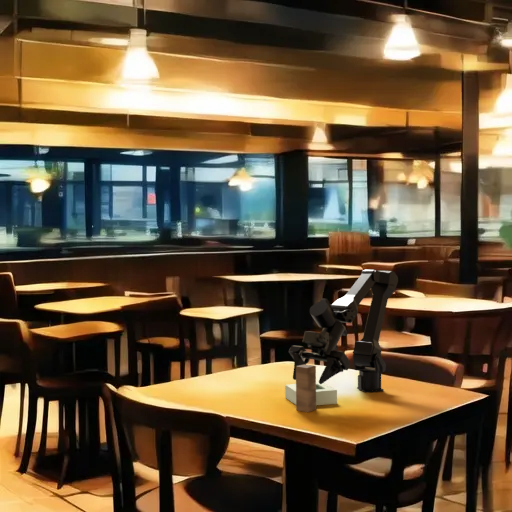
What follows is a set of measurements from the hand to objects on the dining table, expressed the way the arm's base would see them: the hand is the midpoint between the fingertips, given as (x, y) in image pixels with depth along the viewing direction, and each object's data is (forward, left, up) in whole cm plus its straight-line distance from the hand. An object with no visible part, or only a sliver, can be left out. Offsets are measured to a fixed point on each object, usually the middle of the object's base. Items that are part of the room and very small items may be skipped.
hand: (306, 381), depth 210 cm
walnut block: (0, 0, -8) cm, 8 cm away
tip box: (-5, -10, -8) cm, 14 cm away
